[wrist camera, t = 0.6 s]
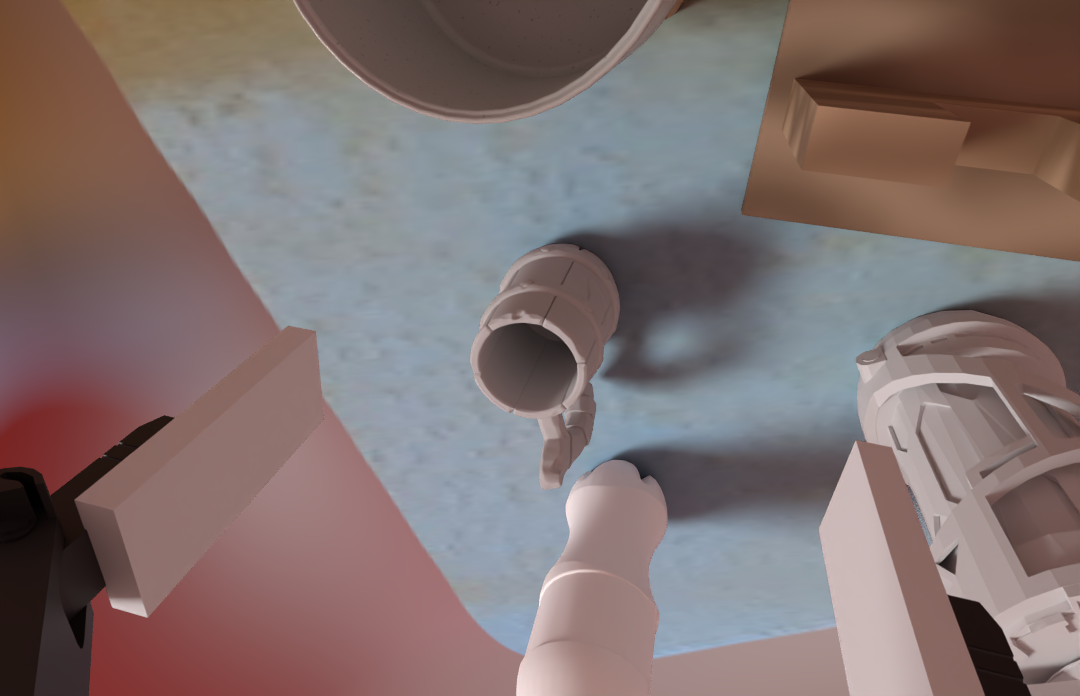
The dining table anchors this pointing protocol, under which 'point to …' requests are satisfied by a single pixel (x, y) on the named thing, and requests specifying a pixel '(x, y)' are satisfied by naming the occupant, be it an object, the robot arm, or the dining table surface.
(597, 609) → the water bottle
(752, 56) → the dining table surface
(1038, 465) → the lantern
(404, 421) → the dining table surface
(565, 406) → the mug
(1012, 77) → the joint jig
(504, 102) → the planter
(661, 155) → the dining table surface
